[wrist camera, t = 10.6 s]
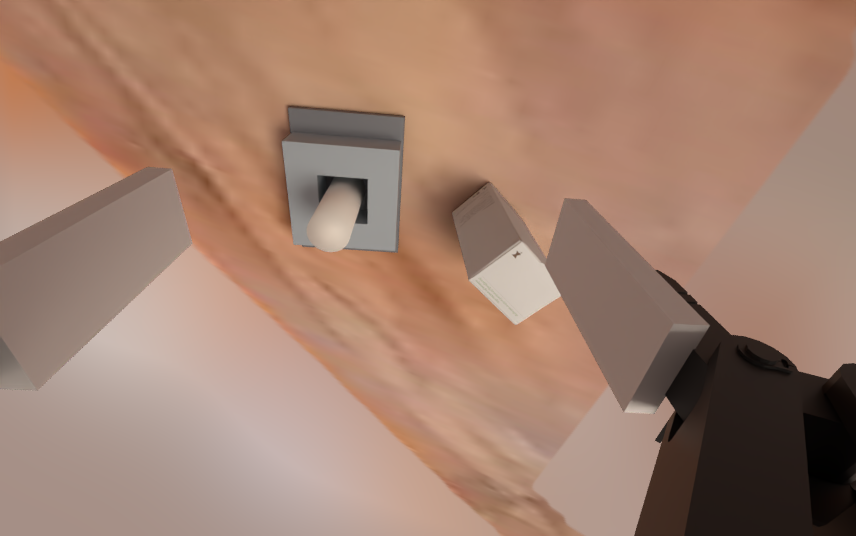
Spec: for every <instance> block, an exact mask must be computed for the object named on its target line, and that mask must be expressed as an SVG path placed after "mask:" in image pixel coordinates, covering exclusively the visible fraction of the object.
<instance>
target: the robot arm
mask: <svg viewBox="0 0 856 536" xmlns="http://www.w3.org/2000/svg"><path fill="white" fill-rule="evenodd" d="M191 244H192V240H191V236H190V232H189V229H188V225H187V222H186V218H185V214H184V211H183V207H182V203H181V200H180V196H179V193H178V189H177V185H176V182H175V178H174V174H173V171H172V169H168V168H155V167H146V168H144V169H142V170H140V171H138V172H136V173H134V174H132V175H131V176H129V177H127V178H125V179H123V180H121V181H119V182H117V183H115V184H113V185H111V186H109V187H107V188H105V189H103V190H101V191H99V192H97V193H95V194H93V195H91V196H89V197H87V198H85V199H83V200H81V201H79V202H77V203H75V204H74V205H72V206H70V207H68V208H66V209H64V210H62V211H60V212H58V213H56V214H54V215H52V216H50V217H48V218H46V219H44V220H42V221H40V222H38V223H36V224H34V225H32V226H30V227H28V228H26V229H24V230H22V231H20V232H18V233H16V234H14V235H12V236H11V237H9V238H7V239H5V240H3V241H1V242H0V389H15V390H38V389H39V388H40V387H41V386H43V385H44V384H45V383H46V382H47V381H48V380H49V379H50V378H51V377H52V376H53V375H54V374H55V373H56V372H57V371H58V370H60V369H61V368H62V367H63V366H64V365H65V364H66V363H67V362H68V361H69V360H70V359H71V358H72V357H73V356H74V355H75V354H76V353H77V352H78V351H79V350H81V348H83V346H85V345H86V344H87V343H88V342H89V341H90V340H91V339H92V338H93V337H94V336H95V335H96V334H97V333H99V332H100V331H101V330H102V329H103V328H104V327H105V326H106V325H107V324H108V323H109V322H110V321H111V320H112V319H113V318H114V317H115V316H116V315H117V314H118V313H120V312H121V311H122V309H124V308H125V307H126V306H127V305H128V304H129V303H130V302H131V301H132V300H133V299H134V298H135V297H136V296H138V295H139V294H140V293H141V292H142V291H143V290H144V289H145V288H146V287H147V286H148V285H149V284H150V283H151V282H152V281H153V280H154V279H155V278H156V277H157V276H159V275H160V273H162V272H163V271H164V270H165V269H166V268H167V267H168V266H169V265H170V264H171V263H172V262H173V261H174V260H175V259H177V258H178V257H179V256H180V255H181V254H182V253H183V252H184V251H185V250H186V249H187V248H188V247H189V246H190V245H191ZM545 267H546V269H547V271H548V272H549V274H550V276H551V278H552V280H553V282H554V284H555V285H556V287H557V289H558V291H559V293H560V295H561V297H562V298H563V300H564V302H565V304H566V306H567V308H568V310H569V311H570V313H571V315H572V317H573V319H574V321H575V323H576V324H577V326H578V328H579V330H580V332H581V334H582V336H583V337H584V339H585V341H586V343H587V345H588V347H589V349H590V350H591V352H592V354H593V356H594V358H595V360H596V362H597V363H598V365H599V367H600V369H601V371H602V373H603V375H604V376H605V378H606V380H607V382H608V384H609V386H610V387H611V389H612V391H613V393H614V395H615V397H616V399H617V401H618V402H619V404H620V406H621V408H622V410H623V412H625V413H650V414H655V412H656V411H657V409H658V407H659V406H660V404H661V403H662V401H663V400H664V398H665V396H666V397H667V398H668V400H669V401H670V403H671V404H672V406H673V407H674V409H675V411H674V413H673V414H672V416H671V417H670V419H669V420H668V422H667V423H666V425H665V426H664V428H663V429H662V431H661V432H660V434H659V435H658V437H657V438H656V440H655V441H657V442H659V443H661V441H662V443H661V447H660V450H659V454H658V457H657V460H656V464H655V467H654V471H653V474H652V477H651V481H650V484H649V487H648V491H647V494H646V497H645V501H644V505H643V508H642V511H641V514H640V518H639V521H638V524H637V528H636V531H635V535H634V536H856V364H854V363H852V364H843V365H842V366H841V367H840V368H839V369H838V370H837V371H836V372H835V373H834V374H833V376H832V377H831V378H830V379H826V378H822V377H818V376H815V375H811V374H806V373H803V372H799V371H798V370H797V368H796V366H795V365H794V364H793V363H792V362H791V361H790V360H789V359H788V358H787V357H786V356H784V355H783V354H782V353H780V352H779V351H777V350H776V349H774V348H772V347H771V346H768V345H766V344H764V343H762V342H760V341H757V340H754V339H751V338H748V337H744V336H736V335H731V334H730V333H729V332H728V331H726V330H725V329H724V328H723V327H722V326H721V325H720V324H719V323H718V322H717V321H716V320H715V319H714V318H713V317H712V316H711V315H710V314H709V313H708V312H707V311H706V310H705V309H704V308H703V307H702V306H701V305H697V301H696V300H695V299H694V298H693V297H692V296H691V295H687V291H686V290H684V289H683V288H682V287H681V286H680V285H679V284H678V283H677V282H676V281H675V280H673V279H672V278H670V277H669V276H667V275H665V274H664V273H662V272H660V271H659V270H655V269H654V268H653V267H652V266H651V265H650V264H649V263H648V262H647V261H646V260H645V259H644V258H643V257H642V256H641V255H640V254H639V253H638V252H637V251H636V250H635V249H634V248H633V247H632V246H631V245H630V244H629V243H628V242H627V241H626V240H625V239H624V238H623V237H622V236H621V235H620V234H619V233H618V232H617V231H616V230H615V229H614V228H613V227H612V226H611V225H610V224H609V223H608V222H607V221H606V220H605V219H604V218H603V217H602V216H601V215H600V214H599V213H598V212H597V211H596V210H595V209H594V208H593V207H592V206H591V205H590V204H589V202H588V201H587V200H581V199H567V198H565V199H564V202H563V205H562V209H561V212H560V216H559V219H558V222H557V226H556V229H555V233H554V236H553V239H552V243H551V246H550V250H549V253H548V256H547V260H546V263H545Z"/></svg>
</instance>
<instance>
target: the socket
mask: <svg viewBox="0 0 856 536" xmlns="http://www.w3.org/2000/svg"><path fill="white" fill-rule="evenodd" d="M288 113H289V123H290V133H291V134H290V135H288V136H287V137H286V138H285V139H284V140H282V148H283V157H284V165H285V174H286V183H287V191H288V200H289V209H290V217H291V226H292V235H293V243H294V245H302V246H303V247H315V246H314V245H313V244H312V243H311V242H310V240H309V239H308V236H307V225H308V223H309V221H310V219H311V217H312V216H313V214H314V212H315V210H316V209H317V207H318V205H319V203H320V202H321V200H322V198H323V196H324V194H325V193H326V191H327V189H328V187H329V186H330V184H331V182H332V180H333V179H334V177H348V178H361V179H362V180H363V182H364V185H365V193H364V197H363V200H362V203H361V206H360V209H359V212H358V215H357V218H356V221H355V224H354V227H353V230H352V233H351V236H350V240H349V242H348V244H347V245H346V246H345V247H344V248H343V249H350V250H366V251H381V252H397V253H398V241H399V221H400V202H401V182H402V163H403V143H404V124H405V116H399V115H387V114H376V113H364V112H353V111H341V110H330V109H318V108H307V107H295V106H290V107H288Z"/></svg>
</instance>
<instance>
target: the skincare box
mask: <svg viewBox="0 0 856 536" xmlns="http://www.w3.org/2000/svg"><path fill="white" fill-rule="evenodd" d="M452 216H453V219H454V223H455V227H456V231H457V235H458V239H459V243H460V247H461V251H462V255H463V259H464V263H465V267H466V270H467V275H468V279H469V281H470V282H471V283H472V284H473V285H474V286H475V287H476V288H477V289H478V290H479V291H480V292H481V293H482V294H483V295H484V296H485V297H486V298H487V299H489V300H490V301H491V302H492V303H493V304H494V305H495V306H496V307H497V308H498V309H499V310H500V311H501V312H502V313H503V314H504V315H505V316H506V317H507V318H508V319H509V320H510V321H512V322H513V323H514V324H515V325H517V324H518V323H520V322H522V321H523V320H525V319H526V318H528V317H529V316H531V315H532V314H534V313H535V312H537V311H538V310H540V309H541V308H543V307H545V306H546V305H548V304H549V303H551V302H552V301H554V300H556V299H557V298H559V297H560V296H561V295H560V293H559V291H558V289H557V287H556V285H555V284H554V282H553V280H552V278H551V276H550V274H549V272H548V271H547V269H546V267H545V263H546V260H547V258H546V257H545V255H544V254H543V252H542V250H541V249H540V247H539V245H538V244H537V242H536V241H535V239H534V238H533V236H532V234H531V233H530V231H529V229H528V228H527V226H526V224H525V223H524V221H523V220H522V219H521V217H520V216H519V215H518V214H517V212H516V211H515V210H514V209H513V208H512V206H511V205H510V204H509V203H508V202H507V200H506V199H505V198H504V197H503V196H502V195H501V194H500V192H499V191H498V190H497V189H496V188H495V187H494V186H493V185H492V184H491V183H490V182H489V183H487V184H486V185H485V186H484V187H482V188H481V189H480V190H479V191H477V192H476V193H475V194H474V195H473V196H471V197H470V198H469V199H468V200H466V201H465V202H464V203H463V204H462V205H460V206H459V207H458V208H457V209H455V210H454V211H453V212H452Z"/></svg>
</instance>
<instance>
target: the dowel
mask: <svg viewBox="0 0 856 536" xmlns="http://www.w3.org/2000/svg"><path fill="white" fill-rule="evenodd" d="M364 193H365V185H364V182H363V180H362V179H361V178H348V177H334V179H333V180H332V182H331V184H330V186H329V187H328V189H327V191H326V193H325V194H324V196H323V198H322V200H321V202H320V203H319V205H318V207H317V209H316V210H315V212H314V214H313V216H312V217H311V219H310V221H309V223H308V225H307V236H308V239H309V240H310V242H311V243H312V244H313V245H314V246H315V247H316V248H318V249H320V250H322V251H326V252H336V251H339V250H342V249H343V248H344V247H345V246H346V245H347V244H348V242H349V240H350V236H351V233H352V230H353V227H354V224H355V221H356V218H357V215H358V212H359V209H360V206H361V203H362V200H363V197H364Z"/></svg>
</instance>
